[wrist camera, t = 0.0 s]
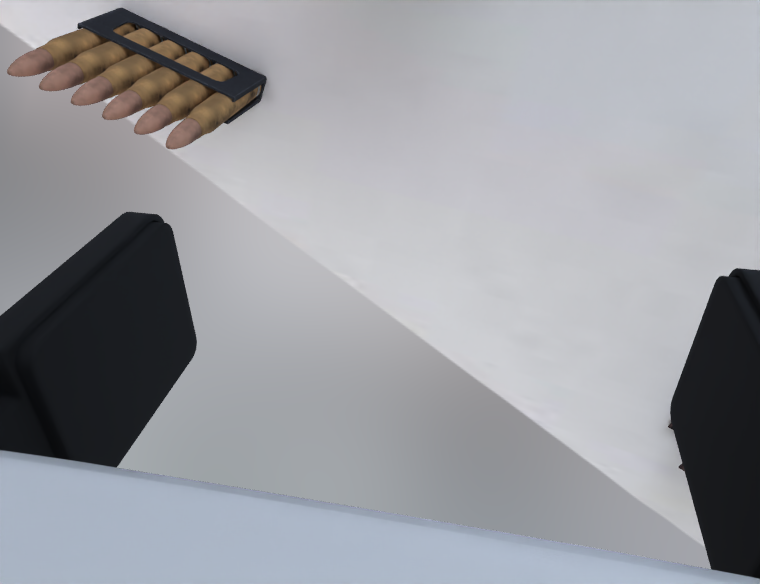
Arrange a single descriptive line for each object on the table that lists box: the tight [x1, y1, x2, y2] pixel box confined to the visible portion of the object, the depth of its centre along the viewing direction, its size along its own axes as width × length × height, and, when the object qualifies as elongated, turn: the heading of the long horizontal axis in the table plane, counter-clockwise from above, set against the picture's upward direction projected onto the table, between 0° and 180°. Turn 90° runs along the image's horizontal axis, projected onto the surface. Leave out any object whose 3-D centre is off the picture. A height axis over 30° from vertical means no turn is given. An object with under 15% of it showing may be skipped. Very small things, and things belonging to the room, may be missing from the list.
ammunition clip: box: [7, 8, 267, 149], centre depth 36 cm, size 11×2×12 cm, turn 67°
